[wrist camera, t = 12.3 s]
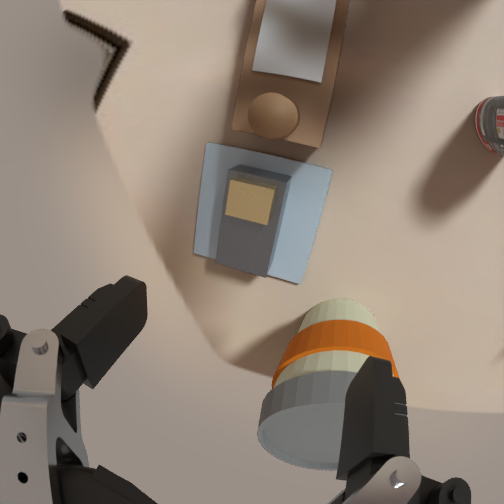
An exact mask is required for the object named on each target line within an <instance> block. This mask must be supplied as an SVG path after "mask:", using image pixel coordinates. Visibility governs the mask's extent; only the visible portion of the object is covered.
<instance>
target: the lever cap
mask: <svg viewBox="0 0 504 504" xmlns="http://www.w3.org/2000/svg"><path fill="white" fill-rule="evenodd" d="M291 179H292V176H290V175H286V174H281V173H277V172H273V171H269V170H264V169H260V168H255V167H250V166H246V165H241V164H239V165H237V166H234V167H232V168H230V169H228V173H227V179H226V186H225V193H224V200H223V207H222V214H221V221H220V229H219V236H218V244H217V252H216V259H215V263H217V264H220V265H224V266H227V267H231V268H234V269H237V270H241V271H244V272H248V273H251V274H255V275H258V276H262V277H265V278H266V276H267V274H268V272H269V269H270V267H271V265H272V263H273V259H274V254H275V250H276V246H277V241H278V237H279V233H280V228H281V224H282V219H283V215H284V211H285V206H286V202H287V197H288V192H289V188H290V183H291Z"/></svg>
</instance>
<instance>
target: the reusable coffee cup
mask: <svg viewBox="0 0 504 504" xmlns="http://www.w3.org/2000/svg"><path fill="white" fill-rule="evenodd" d="M369 356H373V357H377V358H381V359H386V360H389V361H391V364H392V374H393V377H396V378H399V376H398V373H397V369H396V366H395V363H394V360H393V357H392V354H391V351H390V348H389V345H388V342H387V341H386V339H385V338H384V336H383V335H382V334H381V333H380V331H379V328H378V325H377V322H376V319H375V316H374V315H373V313H372V312H371V311H370V310H369V309H368V308H367V307H366V306H364V305H363V304H361V303H359V302H356V301H354V300H349V299H332V300H327V301H324V302H322V303H320V304H318V305H316V306H314V307H313V308H312V309H311V310H310V311H309V312H308V313H307V314H306V316H305V318H304V320H303V322H302V324H301V326H300V329H299V331H298V334H296V335H295V337H294V338H293V339H292V340H291V341H290V343H289V345H288V347H287V349H286V351H285V353H284V355H283V358H282V360H281V362H280V364H279V366H278V368H277V370H276V373H275V375H274V377H273V381H272V390H271V391H270V392H269V393H268V394H267V395H266V397H265V399H264V400H263V403H262V409H261V415H260V420H259V426H258V431H257V436H258V440H259V442H260V444H261V445H262V447H263V448H264V449H265V450H266V451H267V452H268V453H270V454H271V455H273V456H274V457H276V458H278V459H280V460H282V461H284V462H286V463H289V464H292V465H295V466H299V467H303V468H309V469H315V470H330V471H331V470H338V463H339V455H340V447H341V439H342V430H343V420H344V408H345V397H346V393H347V390H348V387H349V385H350V383H351V381H352V380H353V378H354V377H355V375H356V374H357V372H358V371H359V370H360V368H361V367H362V365H363V363H364V362H365V360H366V359H367V358H368V357H369Z"/></svg>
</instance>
